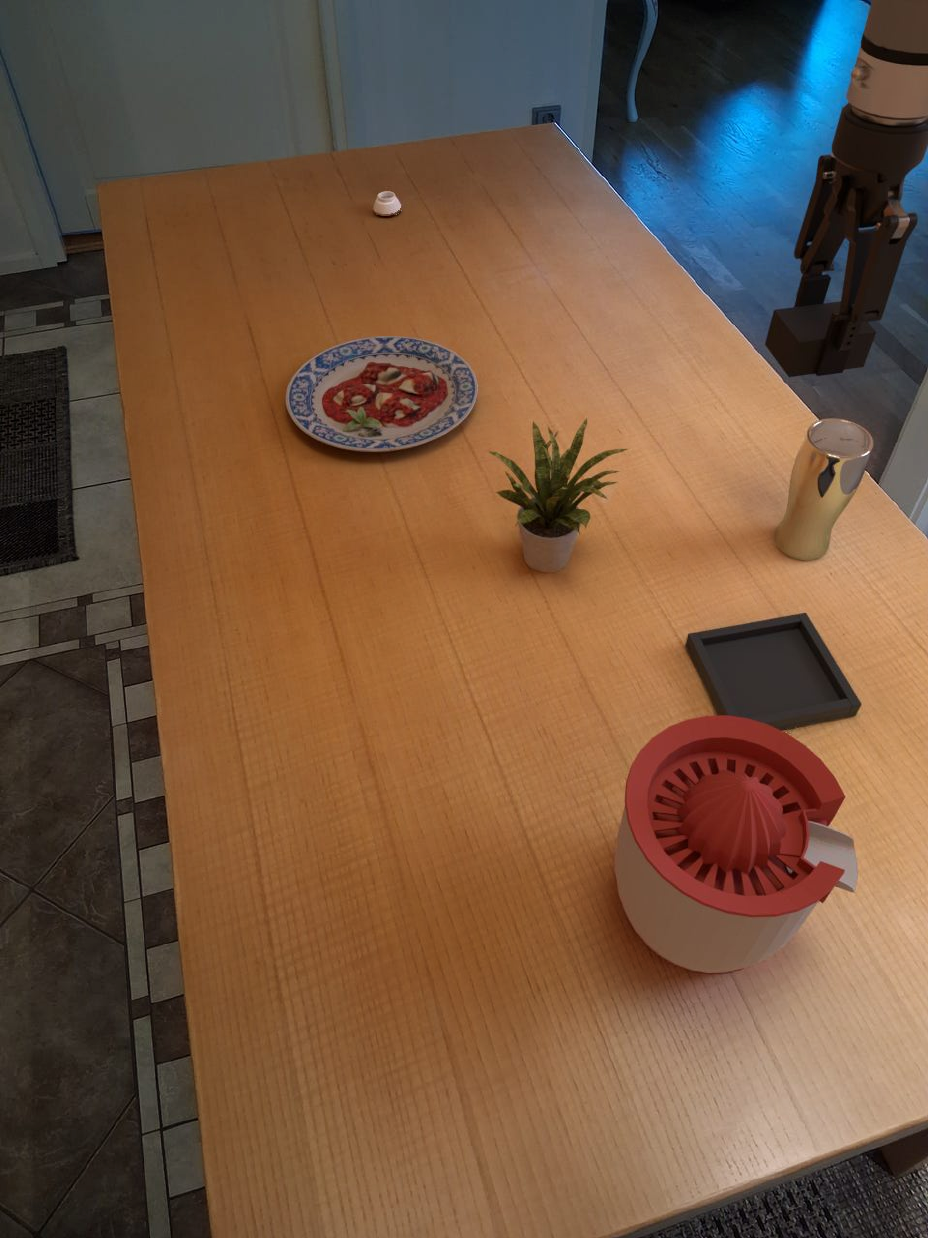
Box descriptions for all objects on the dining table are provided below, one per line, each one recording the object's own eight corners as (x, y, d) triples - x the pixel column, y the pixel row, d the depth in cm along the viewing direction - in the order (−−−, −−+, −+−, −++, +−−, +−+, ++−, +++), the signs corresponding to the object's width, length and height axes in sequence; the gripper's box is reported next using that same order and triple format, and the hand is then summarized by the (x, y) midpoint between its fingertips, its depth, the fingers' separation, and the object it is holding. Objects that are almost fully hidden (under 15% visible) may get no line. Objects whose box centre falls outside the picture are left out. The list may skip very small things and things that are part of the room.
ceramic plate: (367, 330, 133) (365, 312, 131) (514, 385, 124) (514, 366, 121) (248, 419, 120) (243, 401, 118) (402, 489, 110) (400, 471, 108)
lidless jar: (368, 209, 159) (381, 220, 156) (367, 192, 156) (379, 203, 154) (394, 202, 160) (406, 214, 157) (392, 186, 158) (405, 197, 155)
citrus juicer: (809, 1031, 69) (901, 932, 54) (585, 971, 72) (612, 861, 57) (815, 849, 78) (894, 721, 63) (617, 803, 82) (647, 670, 67)
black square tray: (801, 624, 95) (806, 612, 93) (855, 716, 87) (862, 704, 86) (684, 645, 93) (688, 633, 92) (730, 740, 86) (734, 729, 84)
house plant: (646, 563, 101) (668, 449, 89) (559, 626, 95) (570, 513, 83) (556, 500, 108) (565, 386, 96) (470, 555, 103) (468, 441, 90)
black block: (836, 334, 94) (848, 299, 91) (863, 367, 90) (876, 331, 87) (764, 344, 93) (773, 309, 90) (788, 377, 89) (799, 342, 86)
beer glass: (757, 538, 103) (790, 434, 92) (796, 512, 106) (833, 408, 95) (805, 573, 100) (846, 468, 88) (845, 545, 102) (890, 440, 91)
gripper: (798, 71, 79) (742, 309, 97) (906, 160, 67) (820, 414, 85) (877, 63, 80) (807, 301, 98) (998, 150, 68) (893, 403, 86)
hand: (813, 353), depth 91 cm, fingers closed on black block, 6 cm apart
